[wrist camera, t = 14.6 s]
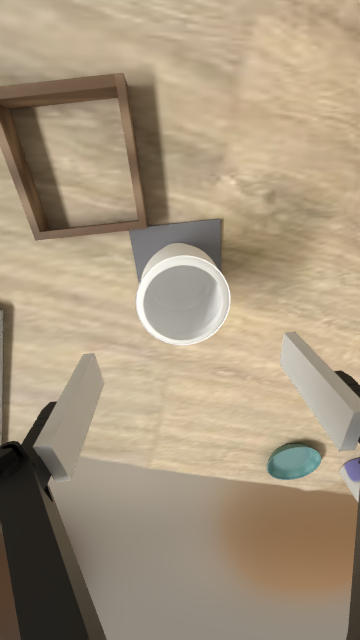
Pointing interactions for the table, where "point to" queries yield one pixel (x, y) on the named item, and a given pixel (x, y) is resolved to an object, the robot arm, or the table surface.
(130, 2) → the table surface
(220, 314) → the jar
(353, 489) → the container
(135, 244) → the felt pad
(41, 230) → the holder frame
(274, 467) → the saucer
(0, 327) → the keyboard
